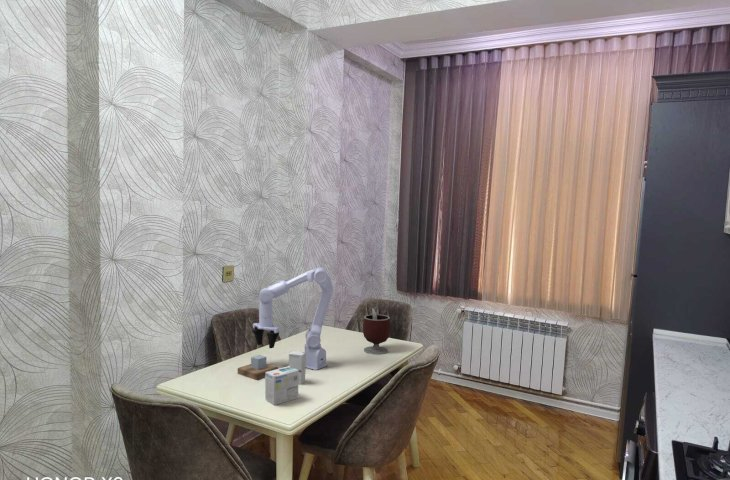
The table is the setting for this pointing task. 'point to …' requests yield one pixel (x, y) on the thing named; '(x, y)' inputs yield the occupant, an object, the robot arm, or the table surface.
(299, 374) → the skincare box
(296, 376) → the light bulb box
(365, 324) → the mate gourd
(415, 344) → the table surface
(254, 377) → the walnut base
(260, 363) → the slate cube
